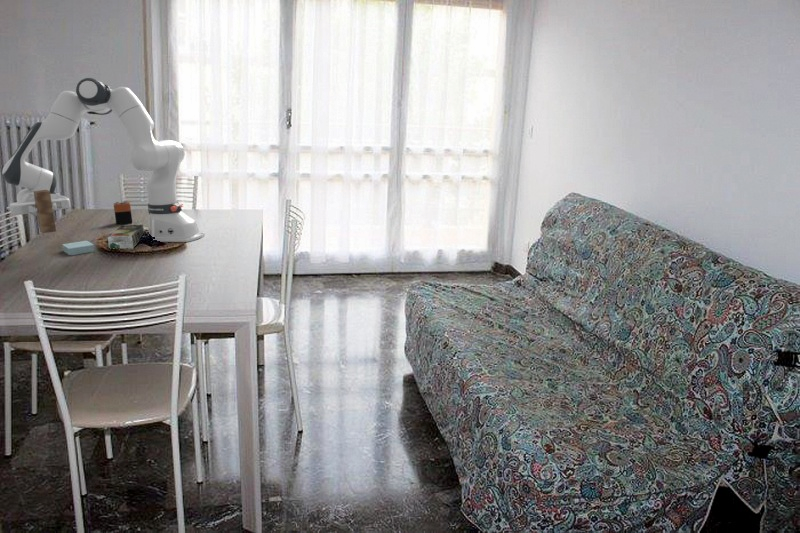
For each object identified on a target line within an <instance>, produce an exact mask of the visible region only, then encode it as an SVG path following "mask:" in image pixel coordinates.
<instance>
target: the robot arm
mask: <svg viewBox="0 0 800 533" xmlns="http://www.w3.org/2000/svg"><path fill="white" fill-rule="evenodd" d="M75 91H76V92H75ZM75 91H72V90H64V91H62V92H60V93H59V95H58V96H57V98H55V101H54V103H53V104H52V106H51V108H50V110H49V113H48V115H47V117H46V118H45V119H43V120H42V121H37V122H36V123H34V124H33V125H32V126H31V127H30V129H29V130H28V131H27V132H26V135H25V136H24V137H23V138H22V141H21V142H20V144H19V145H18V147H17V148H16V149H15V151H14V153H13V154H12V156H11V157H10V158H9V159H8V160H7V162H6V163H5V164H4V166H3V168H2V172H1V175H2V177H3V179H4V180H5V182H6V183H7V184H9V185H12V186H13V185H14V186H18V187H22V188H23V189H21V190H20V191H18V193H17V194H16V201H15V202H12V203H9V206H7V207H6V210H8V211H10V214H11V215H12V216H19V215H28V214H30V215H31V216H35V217H38V216H37V212H39V211H38V207H36V204H35V198H34V192H33V191H40V190H48V191H50V195H51V202H52V208H53V212H56V211H60V210H67V209H70V208H71V201H70V198H68V197H67V196H65V195H61V194H60V193H59V192H55V190H56V187H57V179H56V176H55V173H54V171H52V170H49V169H46V168H44V167H40V166H38V165H36V164H33V163H30V162H28V161H26V159H27V157H28V156H29V154H30V153H31V151H32V150H33V148H34V147H35V146H36V144H37V143H38V142H40V141H45V140H47V141H49V140H50V141H65V140H68V139H70V138H72V137H73V136H74V135H75V134H76V131H77V130H78V127H79V125H80V122H81V120H82V118H83V116H84V114H86V113H87V114H89V115H98V116H99V115H100V116H106V115H108V114H111V113H112V112H114V114H115V116H116V117H117V119H118V120H119V122H120V124H121V125H122V127H123V129H124V131H125V133H126V134H127V135H128V138H129V142H130V151H129V155H128V157H129V158H128V159H129V162H130V164H131V166H132V167H133V168H134V169H135V170H138V171H142V172H145V171H146V172H150V171H152V173H151V174H152V175H151V177H150V179H149V180H148V182H147V183H146V193H147V200H148V203H147V211H148V215H149V233H148V235H149V234H150V235H151V236H152V237H155V239H153V240H157V241H160V242H161V243H162V242H163V243H164V242H166V243H168V242H177V243H179V242H181V243H185V242H192V241H196V240H199V239H201V238H203V237H204V236H205V235H206V234H205V232H204V231H199V226H198V222H197V221H196V220H195V219H194V218H192V217H191V216H189V215H188V214H187V213H185V212H184V211H183V209H182V208H183V207H184V203H181V204H180V203H179V201H178V199H177V198H178V197H177V185H176V184H177V175H178V171H179V167H180V165H181V164H182V162H183V160H184V159H185V154H186V153H185V148H184V147H183V146H182V144H181V143H180V142H179V141H176V140H172V139H161V140H157V139H155V136H154V133H153V131H154V128H155V122H154V120H153V119H152V117H151V115H150V114H149V113H148V111H147V109H146V108H145V106H144V105H143V103H142V102H141V100H140V99H139V98H138V96H137V95H136V94H135V93H134V92H133V91H132V90H131V89H130V88H129V87H127V86H119V87H116V88H114V89H111V88H110V86H109V85H107V84H106V83H104V82H102V81H100V80H99V79H96V78H92V77H86V78H83V79H80V80H79V82H78V83H77V85H76V89H75Z"/></svg>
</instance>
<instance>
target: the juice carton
mask: <svg viewBox="0 0 800 533" xmlns="http://www.w3.org/2000/svg"><path fill="white" fill-rule="evenodd" d="M143 233H144V234H145V227H144V225H143V224H133V225H132V224H129V225H125V224H121V225H120V226H119V227H118V228H117V229H116V230H115V231H113V232H112V233H111V234H110V235H109V236H107V242H108V245H107V247H108V249H109V248H111V249H113V248H134V247H135V246H136V245H137V243H138V242H139V240H140V238H141V236H142V235H143ZM137 246H138V245H137ZM137 246H136V247H137ZM136 247H135V248H136ZM135 248H134V249H135Z"/></svg>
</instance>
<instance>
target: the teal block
mask: <svg viewBox="0 0 800 533" xmlns="http://www.w3.org/2000/svg"><path fill="white" fill-rule="evenodd" d="M61 246H62V252H64V253H65V254H67V255H68V256H74V255H81V254H87V253H92V252H93V253H94V252H95V251H96V250H95V244H94V243H92V242H90V241H88V240H82V241H75V242H68V243H63V244H61Z"/></svg>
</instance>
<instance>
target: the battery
mask: <svg viewBox="0 0 800 533" xmlns="http://www.w3.org/2000/svg"><path fill="white" fill-rule="evenodd" d="M131 208H132V207H131V203H130V201H128V200H123V201H122V202H120V201H115V202H114V203H113V211H114V216H115V217H114V218H115V224H116V225H128V224H129V225H131V224H132V223H133V218H132V217H133V216H132V209H131Z"/></svg>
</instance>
